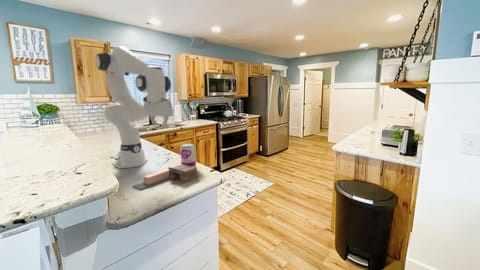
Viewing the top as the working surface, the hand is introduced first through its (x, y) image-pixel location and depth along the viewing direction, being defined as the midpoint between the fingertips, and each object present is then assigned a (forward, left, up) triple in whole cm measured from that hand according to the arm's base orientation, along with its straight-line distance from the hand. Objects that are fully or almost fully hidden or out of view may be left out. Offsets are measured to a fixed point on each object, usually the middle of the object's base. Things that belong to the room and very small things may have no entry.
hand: (159, 124), depth 114 cm
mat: (+4, -10, -28) cm, 30 cm away
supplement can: (+5, +14, -28) cm, 32 cm away
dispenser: (+13, +2, -28) cm, 31 cm away
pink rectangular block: (+4, -6, -27) cm, 28 cm away
